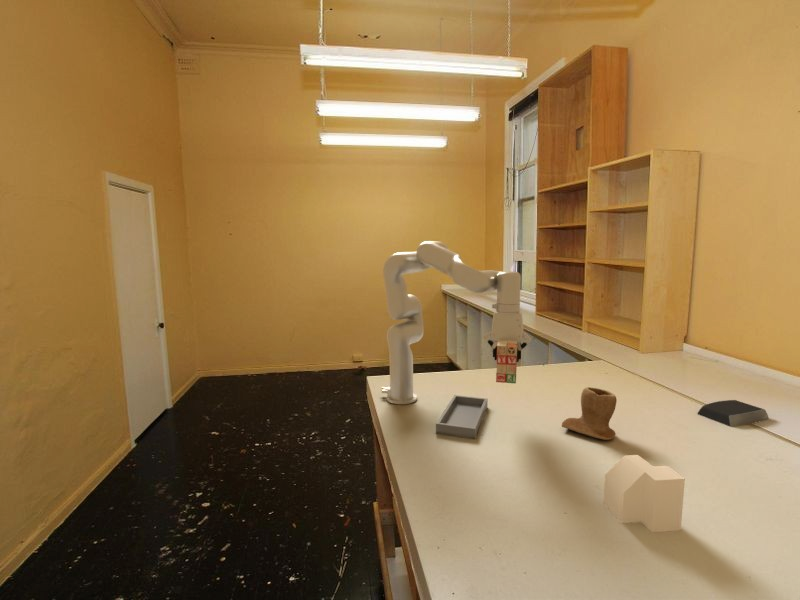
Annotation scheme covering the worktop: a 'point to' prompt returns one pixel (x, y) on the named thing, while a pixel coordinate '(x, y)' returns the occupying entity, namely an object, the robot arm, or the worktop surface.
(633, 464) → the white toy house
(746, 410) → the external hard drive
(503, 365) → the stack of blocks
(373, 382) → the worktop surface
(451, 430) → the tray
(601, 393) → the brown suede boot
